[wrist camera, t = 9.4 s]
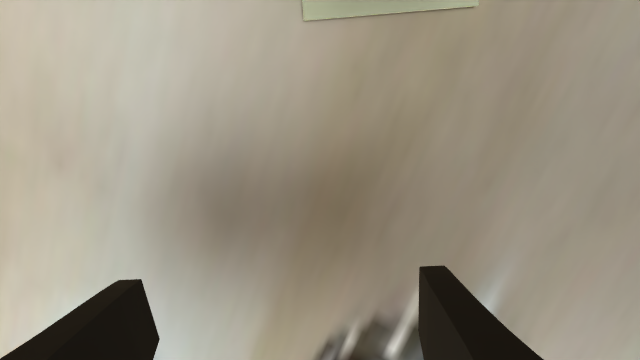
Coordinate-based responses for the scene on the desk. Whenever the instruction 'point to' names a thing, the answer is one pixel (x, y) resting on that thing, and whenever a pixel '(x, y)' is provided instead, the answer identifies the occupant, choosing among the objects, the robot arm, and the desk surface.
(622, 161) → the desk surface
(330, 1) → the pad
